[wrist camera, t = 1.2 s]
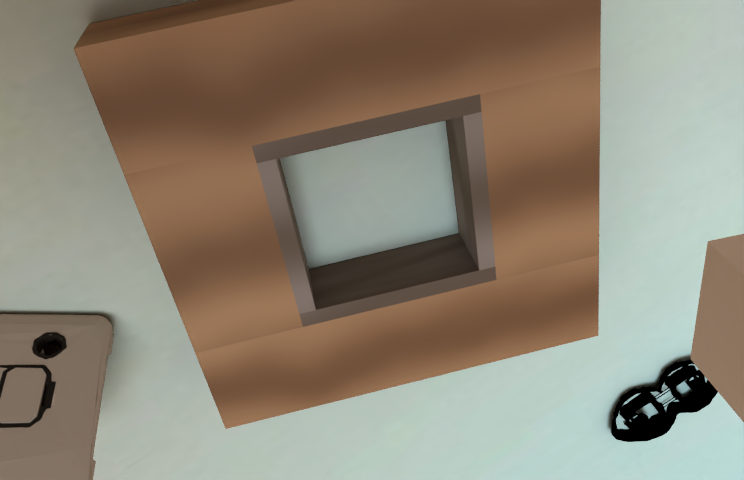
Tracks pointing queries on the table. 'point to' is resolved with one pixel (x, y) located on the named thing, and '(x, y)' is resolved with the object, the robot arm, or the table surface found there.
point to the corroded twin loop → (663, 420)
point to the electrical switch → (51, 394)
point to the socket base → (342, 125)
